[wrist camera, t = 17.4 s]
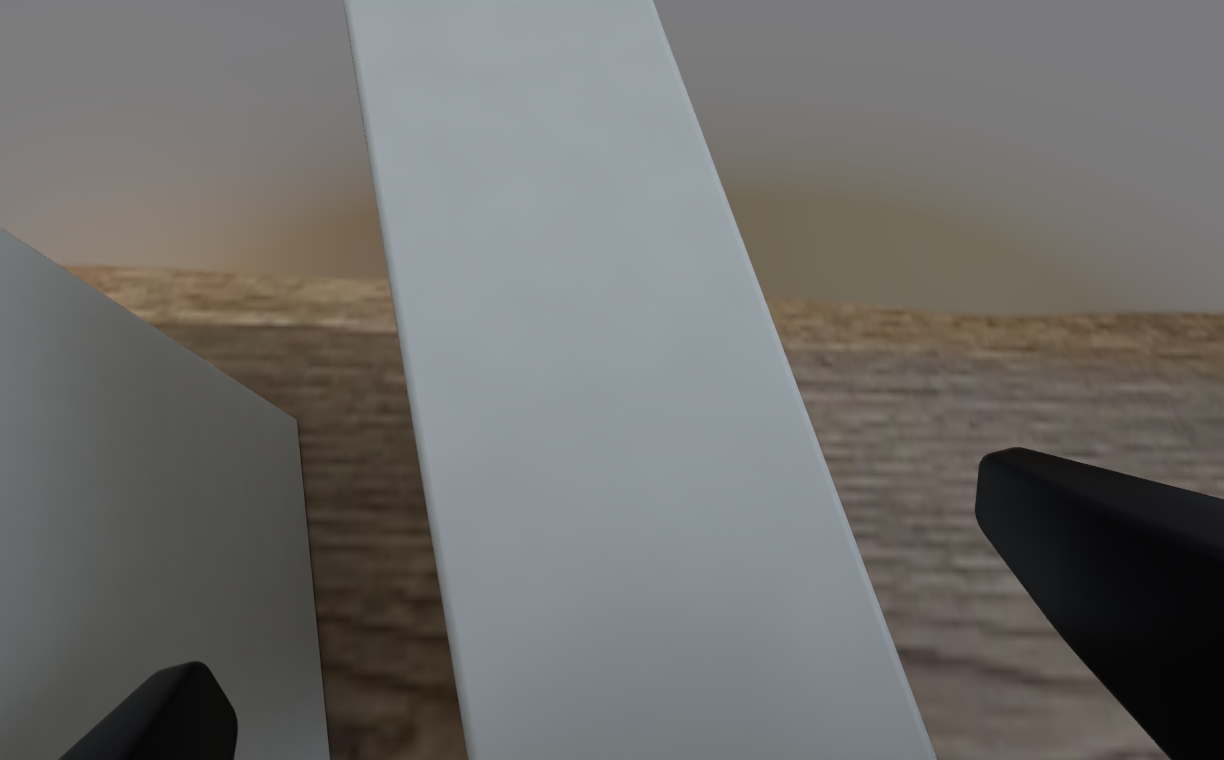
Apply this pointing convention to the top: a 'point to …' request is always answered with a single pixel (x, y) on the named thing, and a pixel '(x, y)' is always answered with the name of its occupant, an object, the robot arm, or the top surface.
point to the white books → (142, 526)
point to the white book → (607, 405)
